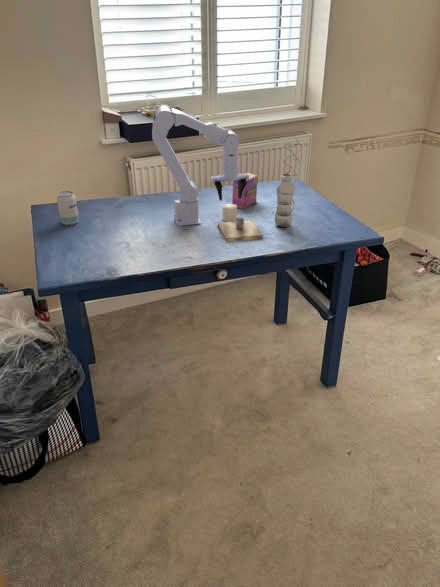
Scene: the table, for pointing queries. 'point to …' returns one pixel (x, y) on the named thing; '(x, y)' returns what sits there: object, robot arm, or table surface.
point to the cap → (229, 212)
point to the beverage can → (67, 208)
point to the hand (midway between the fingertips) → (230, 198)
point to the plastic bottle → (284, 201)
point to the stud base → (240, 230)
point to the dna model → (290, 166)
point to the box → (245, 192)
